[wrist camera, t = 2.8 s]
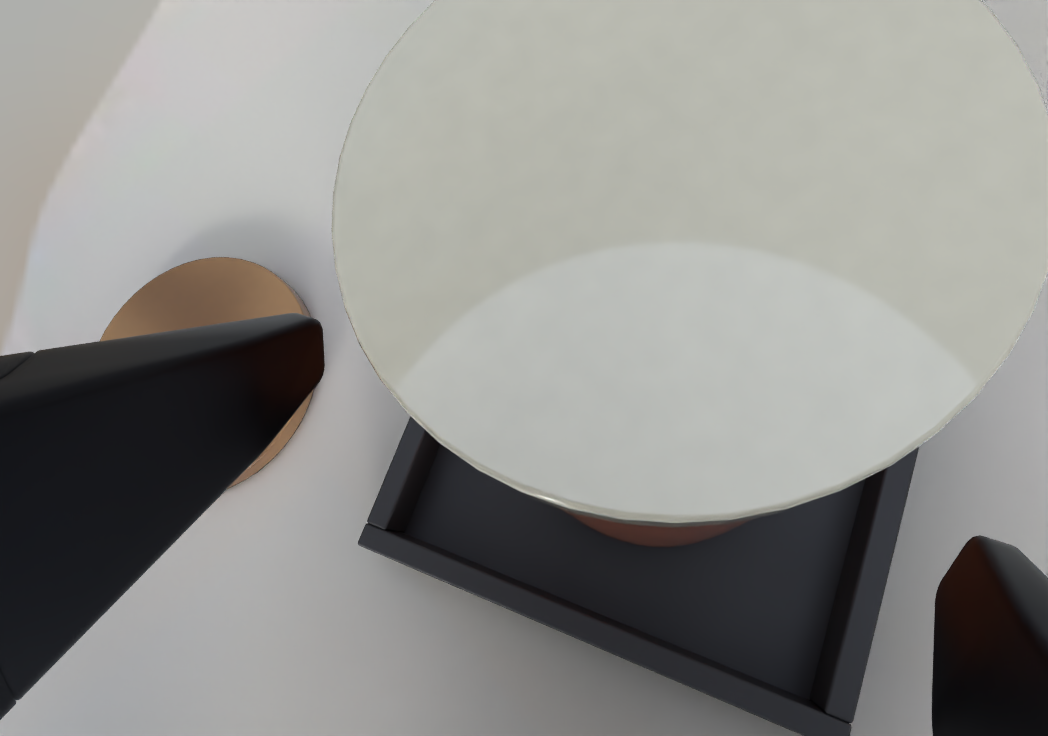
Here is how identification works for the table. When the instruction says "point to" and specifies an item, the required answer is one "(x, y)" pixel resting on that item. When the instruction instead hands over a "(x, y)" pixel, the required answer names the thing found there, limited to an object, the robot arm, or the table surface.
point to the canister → (692, 243)
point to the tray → (667, 581)
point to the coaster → (211, 313)
